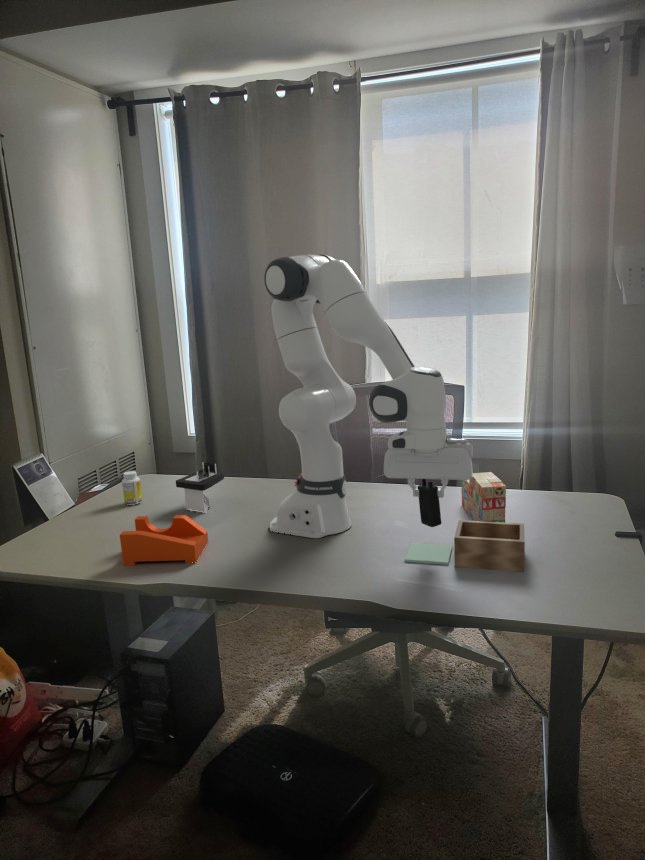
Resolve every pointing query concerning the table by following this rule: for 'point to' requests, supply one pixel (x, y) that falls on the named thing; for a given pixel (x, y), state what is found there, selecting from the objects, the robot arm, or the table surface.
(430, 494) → the walkie-talkie
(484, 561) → the access box
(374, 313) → the robot arm
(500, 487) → the stack of blocks
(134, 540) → the orange cradle stand
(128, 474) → the supplement bottle
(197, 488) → the black-topped pedestal
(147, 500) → the table surface
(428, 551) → the place mat
